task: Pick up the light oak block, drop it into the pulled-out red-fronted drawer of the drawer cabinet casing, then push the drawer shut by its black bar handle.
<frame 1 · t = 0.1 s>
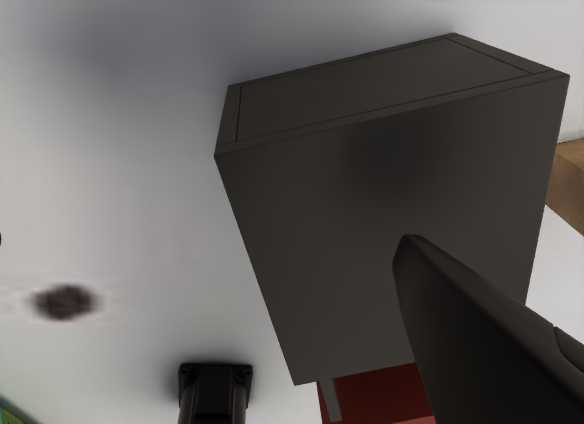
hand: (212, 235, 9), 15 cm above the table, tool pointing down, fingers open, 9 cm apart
oak block: (570, 166, 26), on the table
drawer cabinet casing: (354, 174, 25), on the table
red-fronted drawer: (386, 346, 28), point 5 cm above the table, slide at 8.0 cm
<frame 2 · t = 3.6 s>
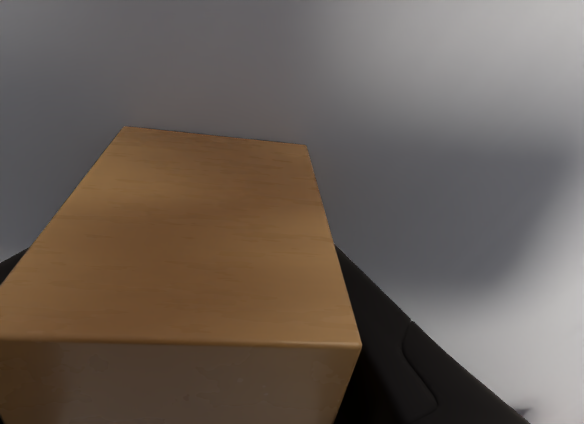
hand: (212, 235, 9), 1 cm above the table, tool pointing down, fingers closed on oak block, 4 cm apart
oak block: (214, 210, 10), on the table, touching gripper
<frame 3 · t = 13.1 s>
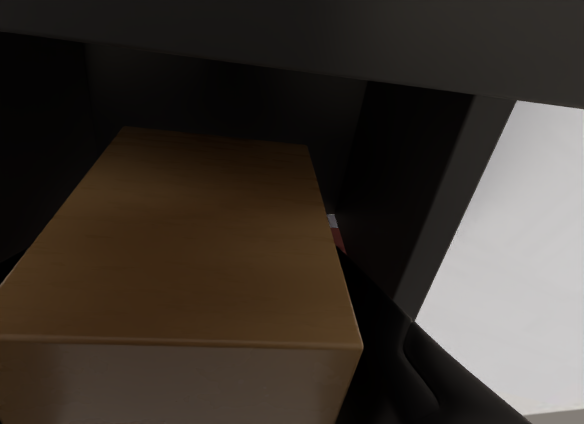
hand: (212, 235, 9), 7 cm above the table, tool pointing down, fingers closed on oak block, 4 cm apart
oak block: (215, 210, 10), point 6 cm above the table, touching gripper
red-fronted drawer: (221, 193, 11), point 5 cm above the table, slide at 8.0 cm
when the fingers open (8 cm above the table, at t = 22.9 s): oak block drops 5 cm, resting on red-fronted drawer.
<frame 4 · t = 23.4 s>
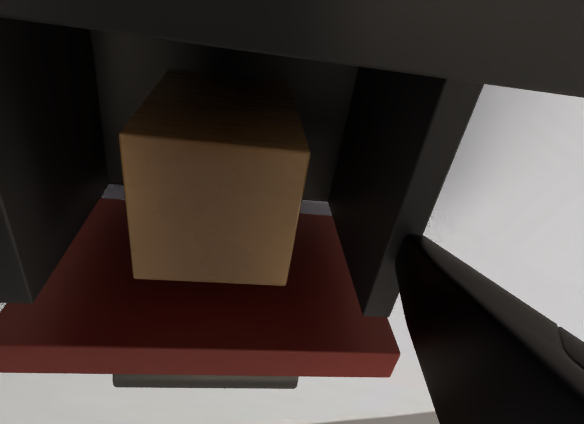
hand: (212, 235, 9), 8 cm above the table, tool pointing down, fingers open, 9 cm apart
oak block: (227, 133, 14), point 2 cm above the table, touching red-fronted drawer
red-fronted drawer: (220, 177, 12), point 5 cm above the table, slide at 8.0 cm, touching oak block
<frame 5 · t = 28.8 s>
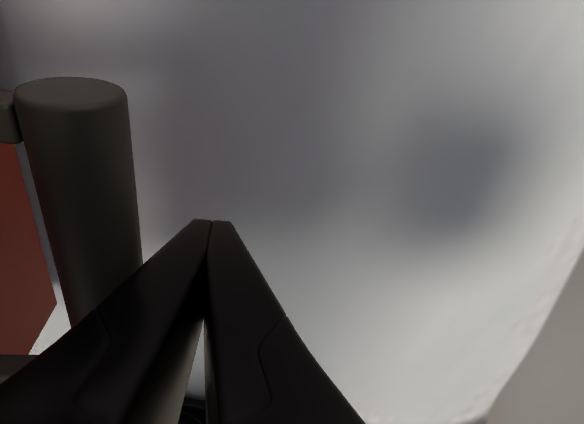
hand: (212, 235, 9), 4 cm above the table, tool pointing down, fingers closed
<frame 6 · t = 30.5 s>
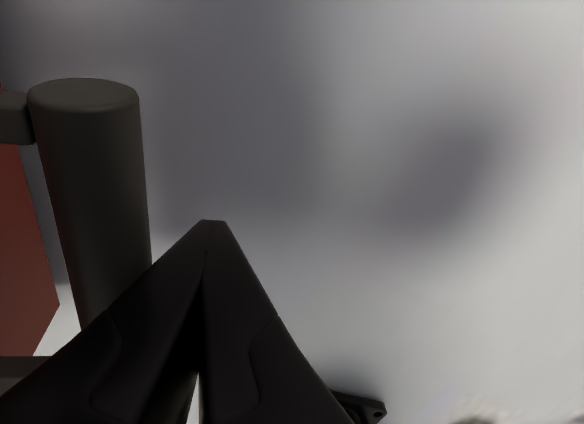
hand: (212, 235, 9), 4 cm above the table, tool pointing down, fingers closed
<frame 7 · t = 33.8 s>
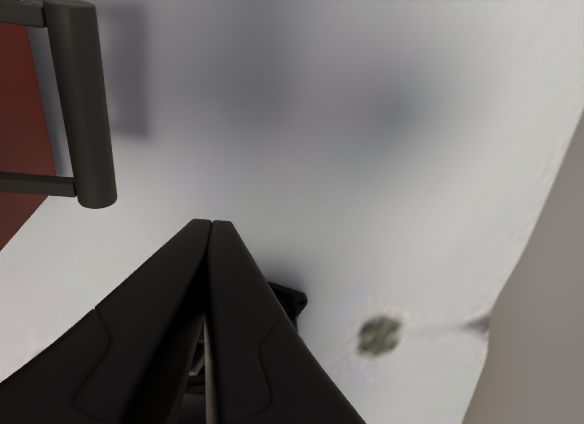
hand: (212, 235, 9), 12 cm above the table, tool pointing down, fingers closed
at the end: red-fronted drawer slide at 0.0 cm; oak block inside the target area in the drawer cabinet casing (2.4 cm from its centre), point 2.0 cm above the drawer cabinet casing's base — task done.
